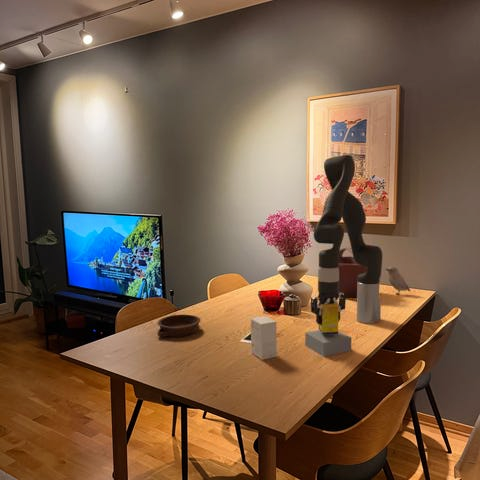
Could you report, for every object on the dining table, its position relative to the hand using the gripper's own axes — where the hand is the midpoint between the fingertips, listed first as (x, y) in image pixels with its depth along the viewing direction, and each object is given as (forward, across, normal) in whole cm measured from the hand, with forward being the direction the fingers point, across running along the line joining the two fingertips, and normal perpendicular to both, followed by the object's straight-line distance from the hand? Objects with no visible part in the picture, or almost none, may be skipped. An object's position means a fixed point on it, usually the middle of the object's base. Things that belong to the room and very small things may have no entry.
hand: (328, 322), depth 168 cm
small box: (+10, +24, -5) cm, 27 cm away
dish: (+10, +44, -43) cm, 62 cm away
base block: (+10, 0, 0) cm, 10 cm away
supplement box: (+4, 0, 0) cm, 4 cm away
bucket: (+10, -53, -58) cm, 79 cm away
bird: (+10, -76, -46) cm, 89 cm away
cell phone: (+10, +18, -23) cm, 31 cm away
